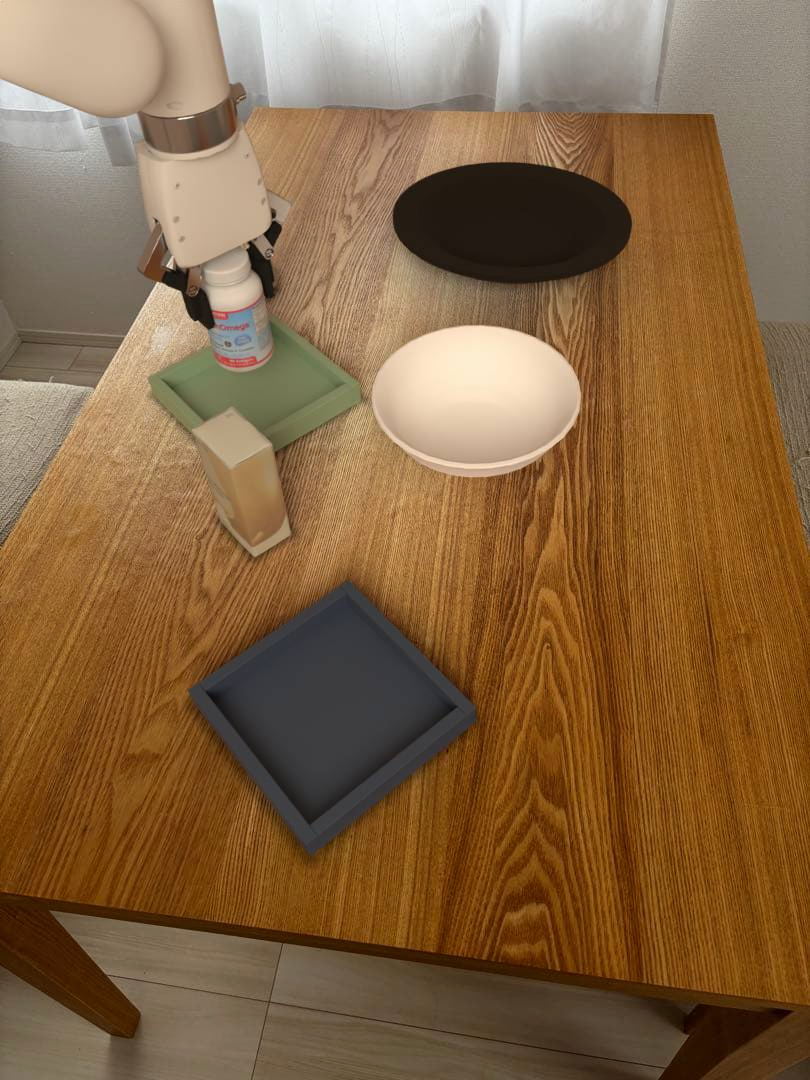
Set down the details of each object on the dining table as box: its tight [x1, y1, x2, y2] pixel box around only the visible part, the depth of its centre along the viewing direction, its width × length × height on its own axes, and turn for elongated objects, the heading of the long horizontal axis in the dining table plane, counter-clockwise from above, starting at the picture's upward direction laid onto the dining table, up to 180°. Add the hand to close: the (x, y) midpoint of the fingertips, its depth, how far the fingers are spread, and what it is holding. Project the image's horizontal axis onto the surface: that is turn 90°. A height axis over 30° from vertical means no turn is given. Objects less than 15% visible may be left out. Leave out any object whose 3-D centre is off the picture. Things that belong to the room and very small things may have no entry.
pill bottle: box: [200, 245, 274, 372], centre depth 83 cm, size 6×6×11 cm
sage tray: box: [147, 312, 363, 453], centre depth 91 cm, size 16×16×2 cm
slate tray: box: [187, 579, 477, 857], centre depth 68 cm, size 16×16×2 cm
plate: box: [392, 161, 633, 285], centre depth 104 cm, size 28×24×6 cm
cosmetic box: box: [192, 407, 292, 558], centre depth 76 cm, size 6×4×12 cm
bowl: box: [370, 324, 582, 478], centre depth 84 cm, size 20×20×6 cm
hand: (233, 305), depth 83 cm, fingers closed on pill bottle, 6 cm apart
